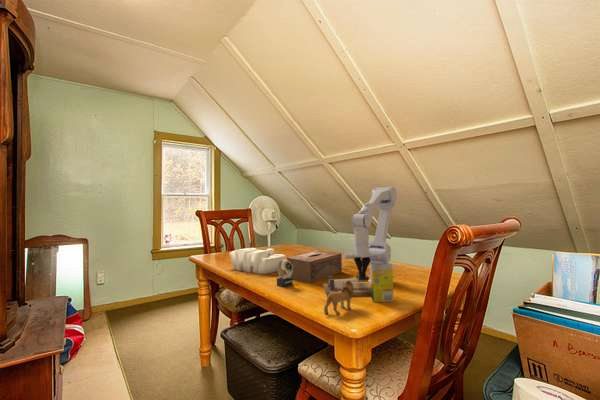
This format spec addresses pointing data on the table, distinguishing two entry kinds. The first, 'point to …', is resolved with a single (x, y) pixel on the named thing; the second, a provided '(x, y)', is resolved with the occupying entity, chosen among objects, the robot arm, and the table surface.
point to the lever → (358, 279)
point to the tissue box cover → (315, 265)
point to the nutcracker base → (358, 288)
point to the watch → (283, 280)
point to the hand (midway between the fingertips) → (362, 276)
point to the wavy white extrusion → (256, 260)
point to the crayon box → (382, 286)
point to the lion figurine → (340, 297)
